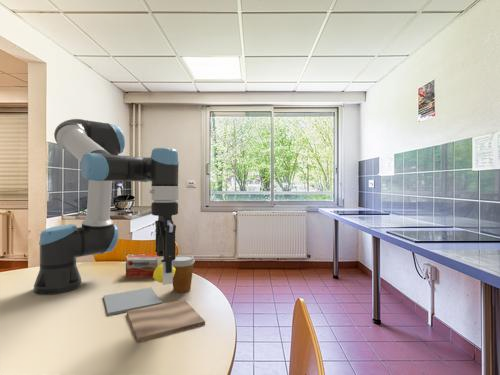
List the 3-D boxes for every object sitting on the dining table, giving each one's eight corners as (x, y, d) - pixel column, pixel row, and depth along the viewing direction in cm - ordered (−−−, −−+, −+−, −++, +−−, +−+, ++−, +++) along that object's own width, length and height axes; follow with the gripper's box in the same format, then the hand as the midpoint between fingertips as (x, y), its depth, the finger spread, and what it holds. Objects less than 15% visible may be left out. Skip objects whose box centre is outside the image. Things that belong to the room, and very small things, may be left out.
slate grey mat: (103, 297, 100) (103, 295, 100) (151, 289, 108) (151, 287, 108) (107, 315, 86) (107, 313, 86) (161, 304, 95) (161, 302, 95)
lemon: (158, 288, 80) (156, 269, 79) (150, 283, 84) (148, 265, 83) (181, 279, 85) (178, 261, 84) (172, 275, 89) (170, 258, 88)
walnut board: (126, 314, 87) (126, 311, 87) (184, 302, 96) (184, 299, 96) (137, 342, 72) (137, 338, 72) (205, 324, 81) (205, 321, 81)
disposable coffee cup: (171, 285, 113) (171, 255, 113) (196, 285, 113) (196, 254, 113) (166, 294, 103) (166, 261, 103) (193, 293, 104) (193, 260, 104)
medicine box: (125, 277, 122) (125, 259, 122) (132, 272, 130) (132, 254, 130) (161, 277, 123) (161, 258, 123) (166, 271, 131) (166, 254, 131)
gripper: (145, 200, 90) (145, 274, 90) (159, 203, 74) (159, 293, 74) (169, 199, 94) (169, 270, 94) (187, 202, 78) (187, 287, 78)
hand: (164, 280), depth 84 cm, fingers closed on lemon, 5 cm apart
